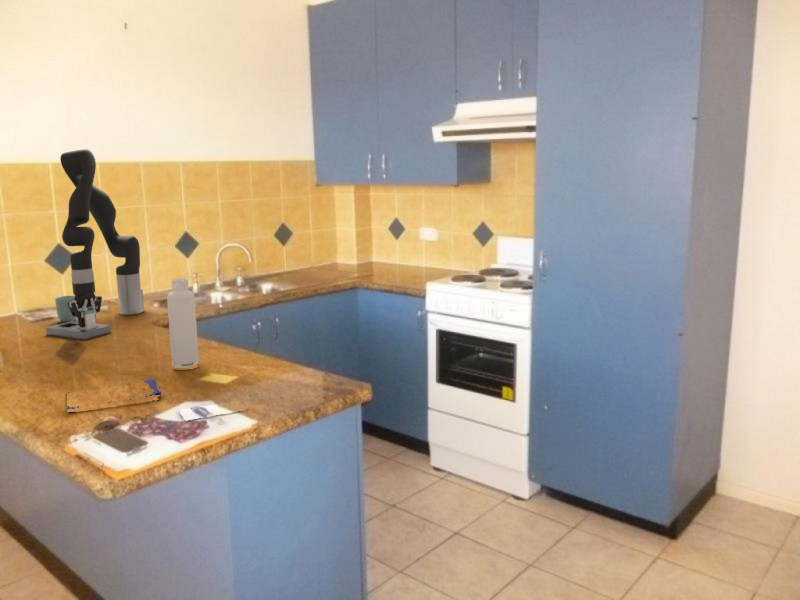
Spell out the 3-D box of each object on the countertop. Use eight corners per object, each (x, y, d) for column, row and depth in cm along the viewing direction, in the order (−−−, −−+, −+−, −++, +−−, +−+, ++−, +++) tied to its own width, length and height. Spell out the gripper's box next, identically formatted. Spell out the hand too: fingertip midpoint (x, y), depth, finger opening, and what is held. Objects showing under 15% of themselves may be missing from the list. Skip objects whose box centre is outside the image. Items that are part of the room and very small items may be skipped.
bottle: (204, 364, 214) (198, 278, 209) (188, 372, 207) (182, 282, 201) (183, 362, 217) (176, 276, 211) (167, 369, 209) (159, 281, 204)
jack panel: (73, 328, 264) (72, 320, 263) (111, 332, 256) (110, 325, 255) (46, 335, 253) (45, 327, 252) (85, 340, 245) (84, 332, 244)
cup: (70, 323, 271) (67, 299, 269) (53, 323, 273) (50, 299, 271) (83, 319, 279) (80, 295, 277) (66, 318, 280) (64, 295, 278)
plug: (89, 332, 255) (86, 309, 253) (96, 333, 253) (94, 310, 252) (80, 334, 251) (77, 311, 250) (88, 335, 250) (85, 312, 248)
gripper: (91, 277, 256) (95, 320, 260) (59, 283, 243) (64, 329, 247) (106, 278, 253) (110, 322, 257) (74, 284, 240) (79, 331, 244)
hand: (87, 325), depth 252 cm, fingers open, 4 cm apart
